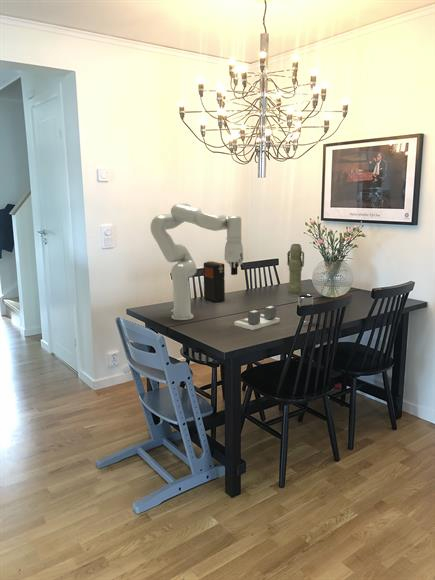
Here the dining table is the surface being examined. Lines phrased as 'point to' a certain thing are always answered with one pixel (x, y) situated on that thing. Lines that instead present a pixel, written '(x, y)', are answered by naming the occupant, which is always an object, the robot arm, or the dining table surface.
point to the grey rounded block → (254, 317)
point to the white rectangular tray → (263, 323)
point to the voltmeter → (214, 281)
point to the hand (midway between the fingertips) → (234, 274)
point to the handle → (269, 312)
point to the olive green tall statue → (295, 269)
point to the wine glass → (305, 301)
